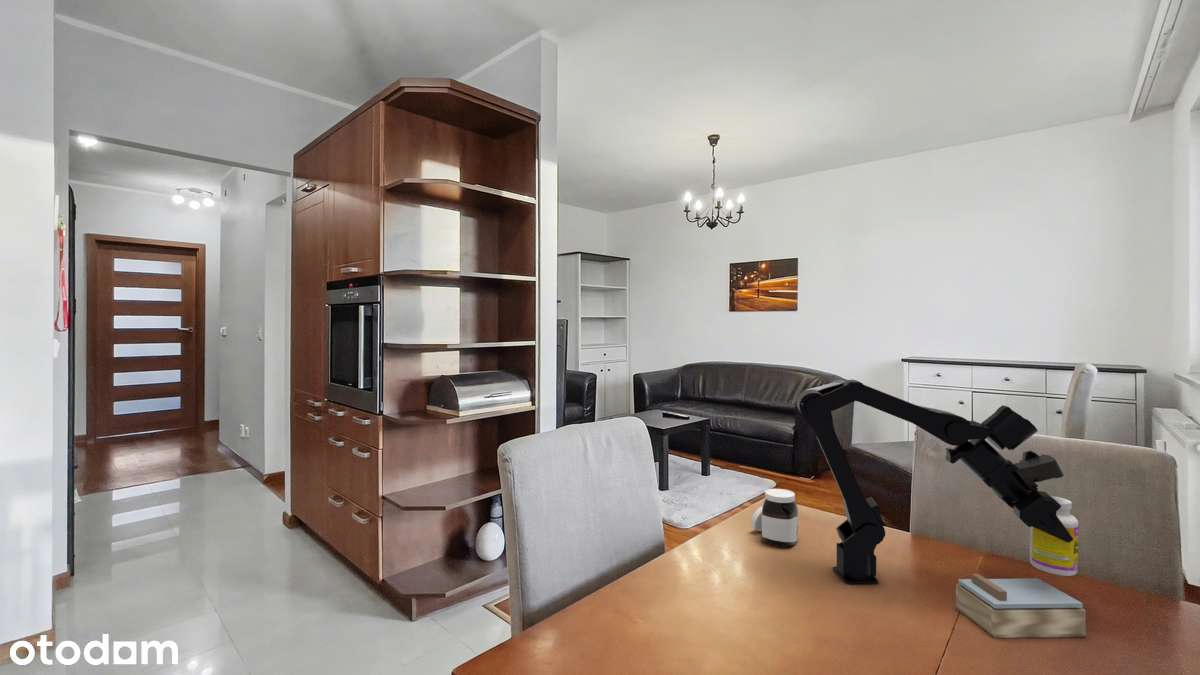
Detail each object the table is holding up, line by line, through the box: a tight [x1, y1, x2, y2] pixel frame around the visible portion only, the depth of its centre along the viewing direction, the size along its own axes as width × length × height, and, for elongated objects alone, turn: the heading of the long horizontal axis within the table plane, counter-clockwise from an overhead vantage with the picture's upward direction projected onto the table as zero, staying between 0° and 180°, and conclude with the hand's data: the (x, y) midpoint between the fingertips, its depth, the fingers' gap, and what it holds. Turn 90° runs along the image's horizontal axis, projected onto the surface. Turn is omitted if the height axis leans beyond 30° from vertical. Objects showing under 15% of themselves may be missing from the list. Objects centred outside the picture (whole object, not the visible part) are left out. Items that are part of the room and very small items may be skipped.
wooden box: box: [955, 583, 1087, 639], centre depth 89 cm, size 15×9×4 cm, turn 90°
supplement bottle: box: [1029, 495, 1079, 577], centre depth 95 cm, size 7×7×13 cm
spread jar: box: [750, 488, 799, 547], centre depth 126 cm, size 12×11×12 cm
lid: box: [957, 573, 1084, 609], centre depth 89 cm, size 14×9×2 cm, turn 90°
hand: (1063, 534), depth 94 cm, fingers closed on supplement bottle, 7 cm apart
